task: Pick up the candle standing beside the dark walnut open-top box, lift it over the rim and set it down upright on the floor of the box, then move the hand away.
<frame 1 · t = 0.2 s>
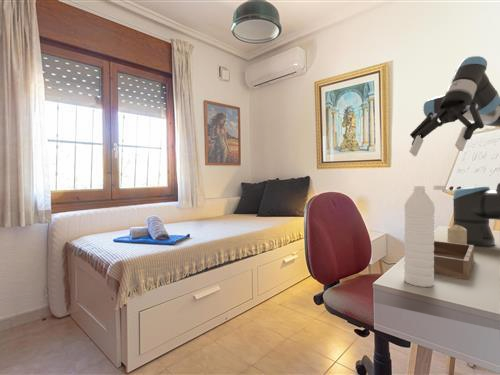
hand: (433, 151, 81), 35 cm above the table, tool tilted 35°, fingers open, 13 cm apart
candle: (456, 253, 98), on the table
walnut box: (446, 265, 83), on the table
water bottle: (423, 284, 69), on the table
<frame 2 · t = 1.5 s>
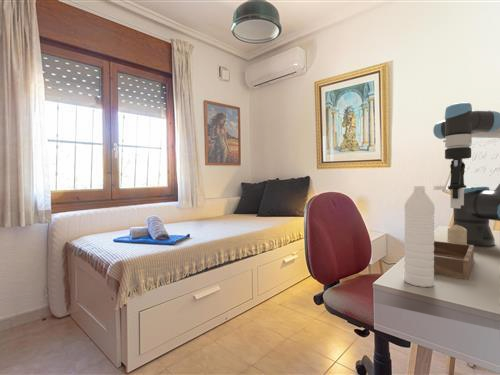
hand: (457, 206, 97), 17 cm above the table, tool pointing down, fingers open, 13 cm apart
nothing on the table moved.
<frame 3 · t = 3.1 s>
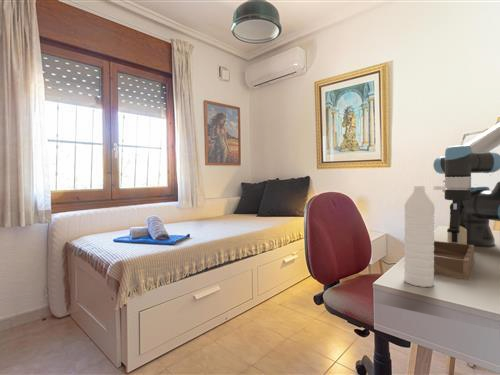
hand: (456, 247, 98), 2 cm above the table, tool pointing down, fingers open, 13 cm apart
nothing on the table moved.
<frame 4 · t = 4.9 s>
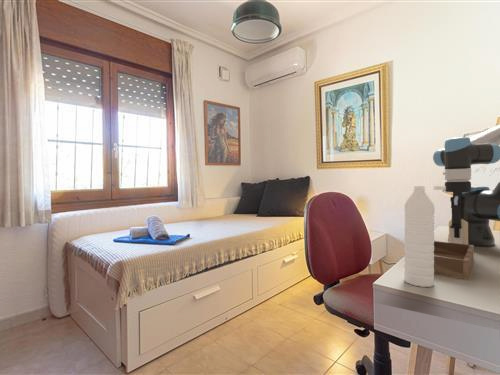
hand: (458, 244, 98), 3 cm above the table, tool pointing down, fingers closed on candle, 5 cm apart
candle: (458, 246, 98), point 2 cm above the table, touching gripper
everything else where it was.
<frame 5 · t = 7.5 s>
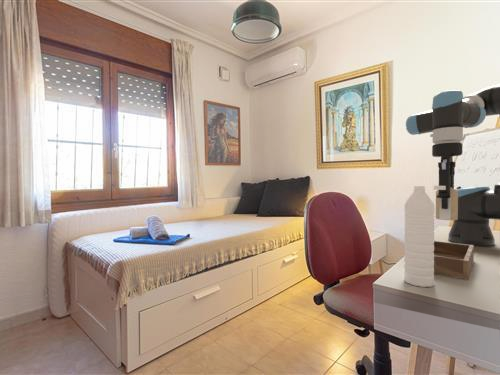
hand: (446, 218, 83), 15 cm above the table, tool pointing down, fingers closed on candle, 5 cm apart
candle: (446, 219, 83), point 14 cm above the table, touching gripper
everything else where it was.
when the fingers open (3 cm above the table, at t = 10.3 s): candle drops 1 cm, resting on walnut box.
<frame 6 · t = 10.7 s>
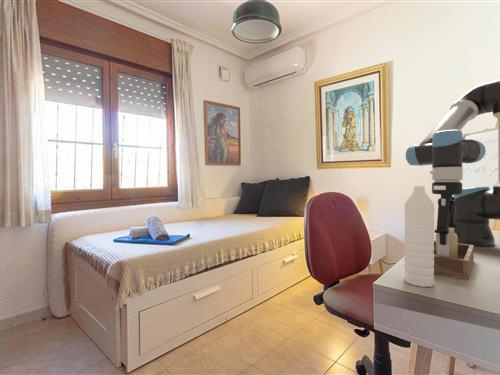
hand: (446, 251, 83), 4 cm above the table, tool pointing down, fingers open, 12 cm apart
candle: (446, 262, 83), point 1 cm above the table, touching walnut box
everything else where it was.
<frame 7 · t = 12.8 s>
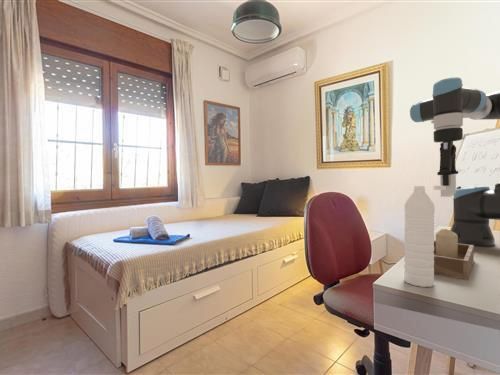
hand: (448, 195, 87), 22 cm above the table, tool pointing down, fingers open, 13 cm apart
nothing on the table moved.
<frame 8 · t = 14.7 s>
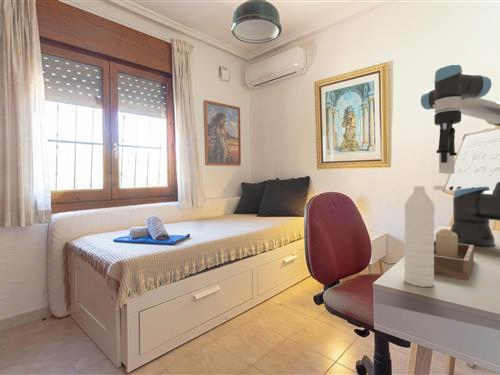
hand: (447, 173, 94), 29 cm above the table, tool pointing down, fingers open, 13 cm apart
nothing on the table moved.
at the end: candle inside the target area on the walnut box (0.1 cm from its centre), point 0.8 cm above the walnut box's base; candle tilted 0°; the gripper is holding nothing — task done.
